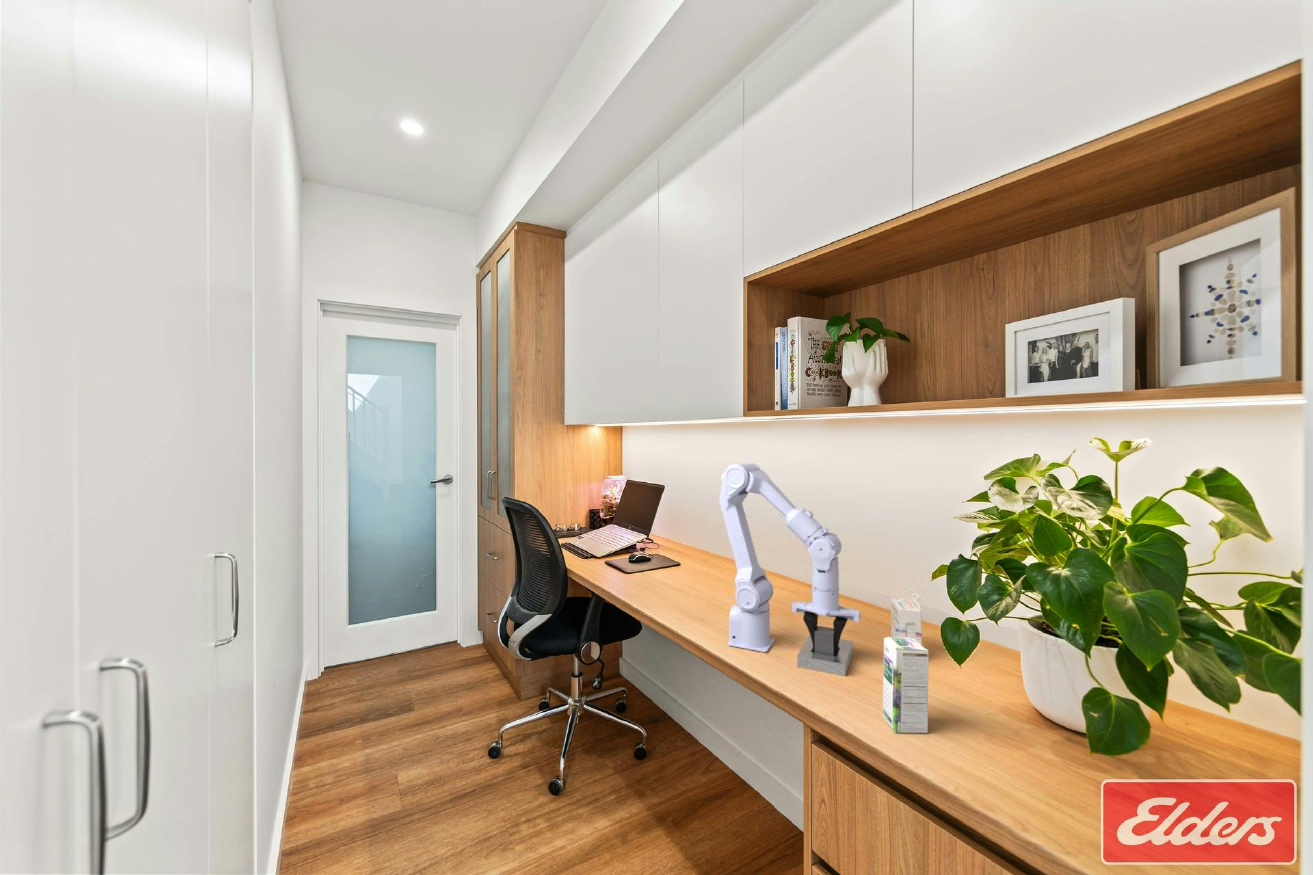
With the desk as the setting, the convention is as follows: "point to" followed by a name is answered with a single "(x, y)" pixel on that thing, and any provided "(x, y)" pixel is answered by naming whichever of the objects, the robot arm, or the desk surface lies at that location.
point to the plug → (824, 641)
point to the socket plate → (826, 658)
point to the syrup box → (905, 685)
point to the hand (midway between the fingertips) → (825, 647)
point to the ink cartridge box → (907, 617)
